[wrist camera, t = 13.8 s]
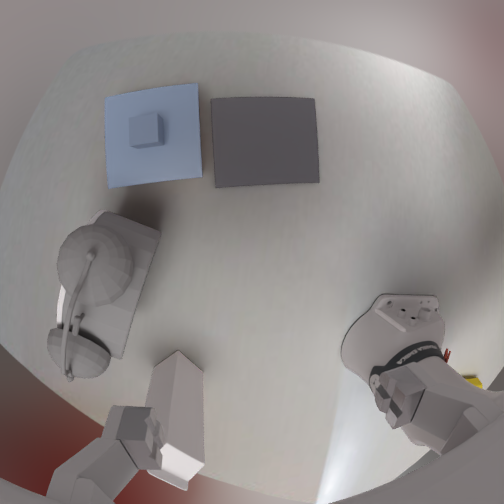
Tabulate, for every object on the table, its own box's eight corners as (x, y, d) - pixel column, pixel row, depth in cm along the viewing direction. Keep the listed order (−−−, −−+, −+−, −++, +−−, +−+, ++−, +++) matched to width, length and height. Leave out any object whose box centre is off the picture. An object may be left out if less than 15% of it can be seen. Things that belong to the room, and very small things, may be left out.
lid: (198, 86, 28) (196, 72, 24) (202, 177, 31) (201, 177, 27) (108, 100, 27) (94, 90, 23) (111, 188, 30) (96, 190, 26)
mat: (313, 99, 35) (314, 98, 35) (317, 182, 38) (319, 182, 38) (210, 99, 34) (210, 98, 33) (215, 187, 37) (215, 187, 36)
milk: (178, 349, 42) (164, 464, 21) (204, 372, 44) (207, 484, 23) (153, 367, 43) (130, 477, 21) (178, 388, 44) (171, 496, 23)
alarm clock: (120, 196, 35) (27, 224, 14) (178, 219, 37) (137, 275, 16) (91, 299, 38) (21, 390, 17) (141, 320, 40) (100, 430, 19)
